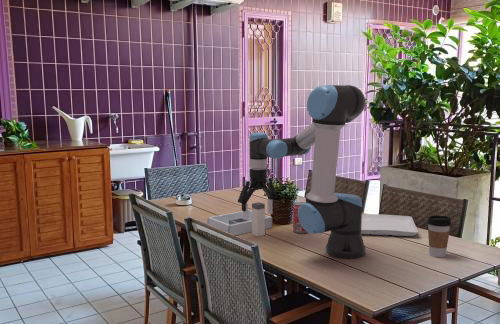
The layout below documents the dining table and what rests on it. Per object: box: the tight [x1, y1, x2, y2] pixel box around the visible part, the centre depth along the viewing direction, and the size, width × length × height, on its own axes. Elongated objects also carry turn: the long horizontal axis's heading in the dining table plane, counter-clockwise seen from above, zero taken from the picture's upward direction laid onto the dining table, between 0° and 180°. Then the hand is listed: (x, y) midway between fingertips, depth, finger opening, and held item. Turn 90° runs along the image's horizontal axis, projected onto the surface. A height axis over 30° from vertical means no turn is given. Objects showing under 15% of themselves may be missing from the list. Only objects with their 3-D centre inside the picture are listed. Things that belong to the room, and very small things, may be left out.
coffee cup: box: [427, 215, 452, 258], centre depth 186 cm, size 8×8×15 cm
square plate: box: [361, 213, 419, 237], centre depth 223 cm, size 27×27×4 cm
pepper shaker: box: [251, 202, 266, 237], centre depth 214 cm, size 4×4×14 cm
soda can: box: [292, 201, 308, 234], centre depth 218 cm, size 7×7×13 cm
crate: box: [206, 209, 273, 236], centre depth 226 cm, size 18×24×5 cm
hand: (257, 216), depth 214 cm, fingers open, 13 cm apart
